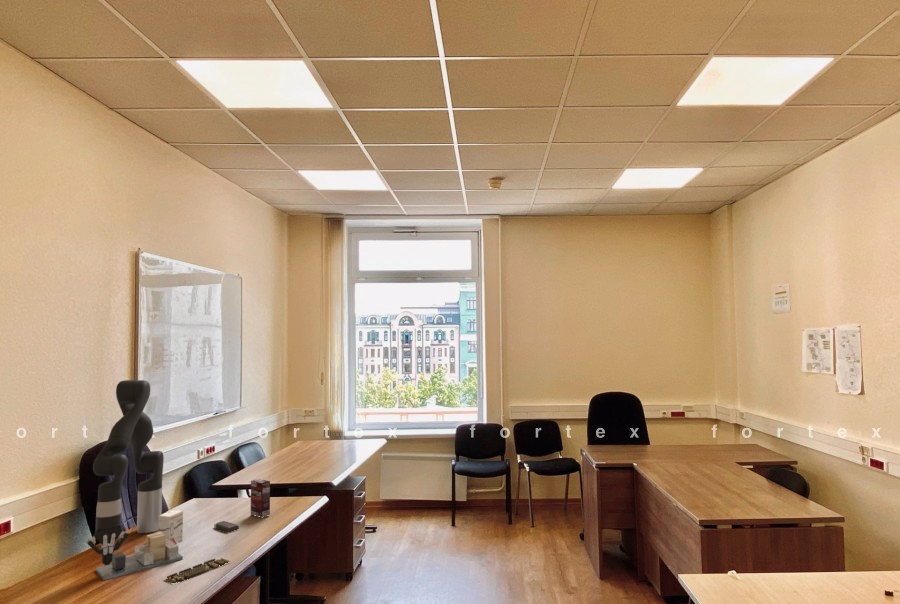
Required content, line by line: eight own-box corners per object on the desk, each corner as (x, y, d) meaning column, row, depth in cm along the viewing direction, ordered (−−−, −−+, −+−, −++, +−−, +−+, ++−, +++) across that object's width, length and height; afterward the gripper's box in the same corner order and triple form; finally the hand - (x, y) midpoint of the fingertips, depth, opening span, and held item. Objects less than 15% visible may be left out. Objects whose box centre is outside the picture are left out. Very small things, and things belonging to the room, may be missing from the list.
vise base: (95, 570, 192) (96, 555, 192) (171, 551, 209) (172, 537, 209) (103, 580, 183) (104, 565, 184) (182, 559, 200) (182, 545, 201)
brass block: (146, 557, 200) (146, 535, 201) (161, 554, 203) (161, 532, 204) (150, 561, 196) (150, 538, 197) (165, 557, 200) (165, 535, 201)
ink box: (168, 547, 213) (168, 516, 214) (157, 547, 214) (157, 515, 215) (183, 539, 222) (183, 510, 223) (172, 539, 223) (173, 509, 224)
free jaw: (109, 563, 195) (109, 551, 195) (143, 554, 202) (143, 543, 203) (118, 572, 186) (118, 560, 187) (153, 563, 194) (153, 551, 194)
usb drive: (227, 534, 229) (227, 527, 229) (212, 529, 236) (212, 522, 236) (238, 530, 233) (238, 523, 233) (223, 525, 240) (223, 519, 240)
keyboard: (173, 587, 178) (174, 581, 178) (158, 582, 183) (159, 575, 183) (232, 564, 196) (232, 558, 196) (217, 559, 201) (217, 554, 201)
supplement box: (249, 515, 253) (250, 480, 254) (258, 513, 256) (259, 478, 258) (261, 518, 248) (261, 482, 249) (270, 515, 252) (270, 480, 253)
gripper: (127, 507, 198) (125, 556, 197) (84, 515, 189) (81, 567, 187) (133, 511, 193) (131, 562, 191) (89, 519, 184) (86, 573, 182)
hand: (106, 564), depth 189 cm, fingers closed
